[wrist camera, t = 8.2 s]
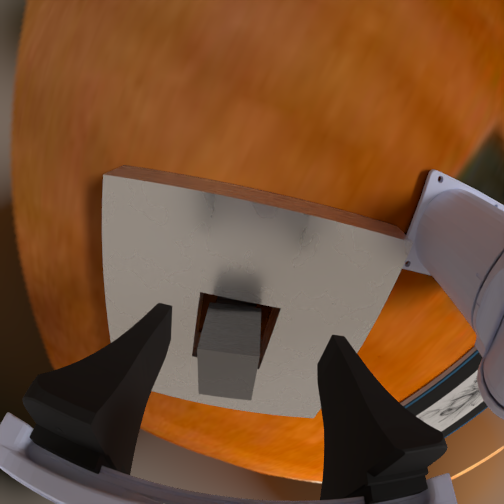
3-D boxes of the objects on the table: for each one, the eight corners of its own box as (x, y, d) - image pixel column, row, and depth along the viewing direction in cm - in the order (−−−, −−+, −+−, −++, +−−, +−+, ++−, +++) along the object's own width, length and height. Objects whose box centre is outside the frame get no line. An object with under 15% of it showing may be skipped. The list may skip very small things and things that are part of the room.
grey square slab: (396, 225, 20) (413, 242, 17) (311, 395, 28) (313, 418, 26) (123, 165, 19) (103, 174, 16) (127, 359, 27) (117, 380, 25)
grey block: (262, 284, 22) (259, 356, 16) (255, 328, 24) (251, 400, 18) (216, 278, 22) (197, 348, 16) (214, 323, 24) (198, 393, 18)
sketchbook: (551, 337, 26) (556, 344, 25) (425, 442, 37) (428, 450, 36) (542, 267, 21) (551, 275, 19) (368, 418, 32) (371, 430, 30)
